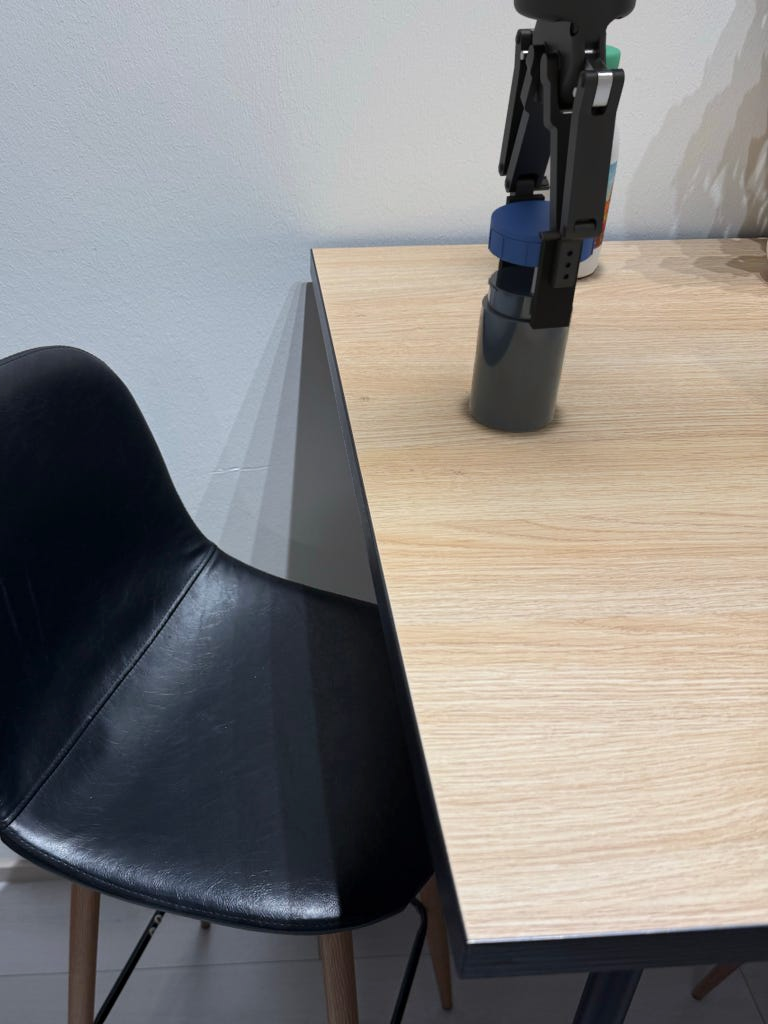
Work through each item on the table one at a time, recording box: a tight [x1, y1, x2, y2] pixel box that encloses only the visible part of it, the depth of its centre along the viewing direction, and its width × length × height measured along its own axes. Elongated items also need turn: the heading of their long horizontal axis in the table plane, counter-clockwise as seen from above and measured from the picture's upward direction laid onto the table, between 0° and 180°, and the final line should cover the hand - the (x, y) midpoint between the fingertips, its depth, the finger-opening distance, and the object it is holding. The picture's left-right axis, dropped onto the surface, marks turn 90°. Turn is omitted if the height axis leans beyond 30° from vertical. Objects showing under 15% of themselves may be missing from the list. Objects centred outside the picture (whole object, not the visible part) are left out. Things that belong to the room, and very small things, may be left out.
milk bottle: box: [533, 44, 622, 279], centre depth 101 cm, size 8×8×20 cm
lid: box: [487, 200, 595, 267], centre depth 75 cm, size 8×8×2 cm
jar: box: [468, 266, 574, 433], centre depth 81 cm, size 7×7×11 cm
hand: (531, 303), depth 78 cm, fingers closed on lid, 7 cm apart
